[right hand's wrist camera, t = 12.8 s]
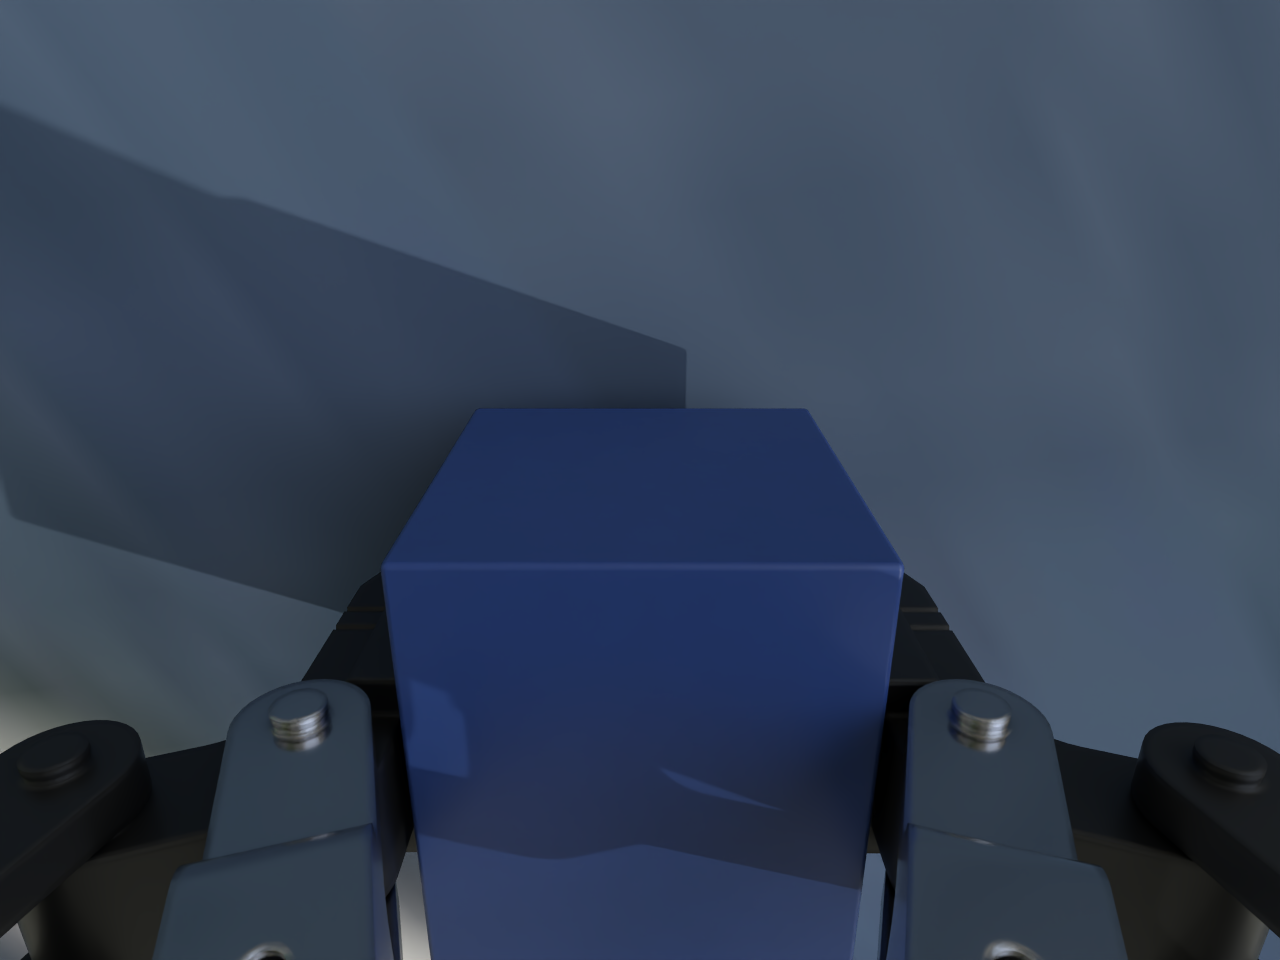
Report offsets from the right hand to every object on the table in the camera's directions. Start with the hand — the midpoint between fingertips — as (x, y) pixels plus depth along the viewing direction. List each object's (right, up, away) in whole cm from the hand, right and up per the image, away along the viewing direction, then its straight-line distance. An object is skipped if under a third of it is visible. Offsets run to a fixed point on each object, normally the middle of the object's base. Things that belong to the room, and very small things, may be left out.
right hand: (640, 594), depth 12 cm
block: (0, 0, 0) cm, 1 cm away
